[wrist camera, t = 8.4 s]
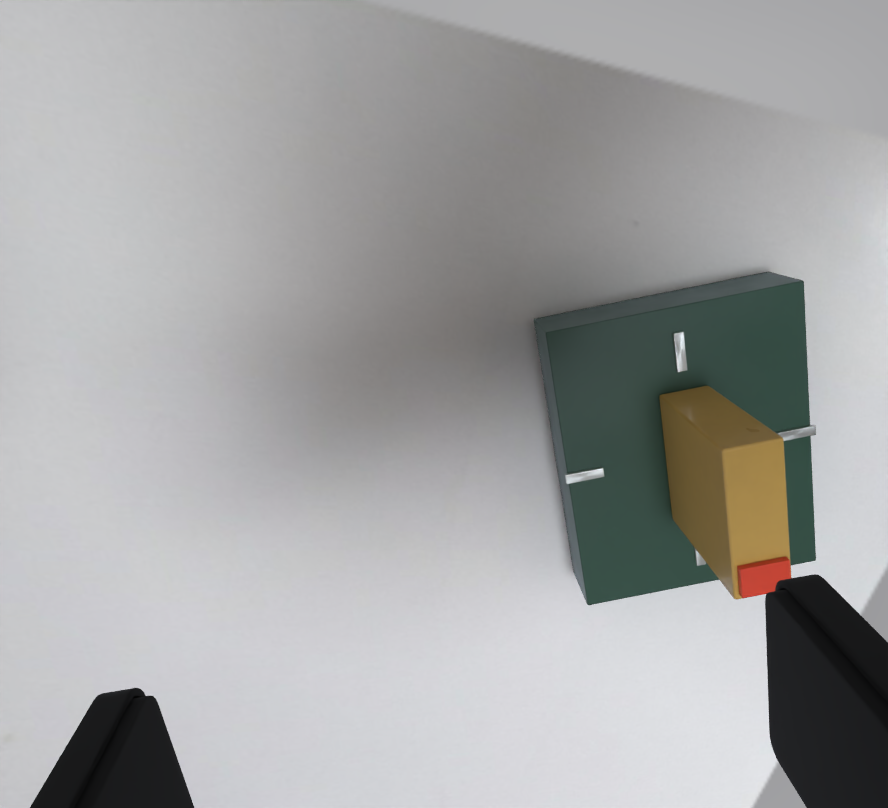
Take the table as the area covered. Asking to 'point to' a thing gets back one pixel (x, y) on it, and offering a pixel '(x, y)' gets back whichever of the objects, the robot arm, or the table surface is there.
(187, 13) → the table surface
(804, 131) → the table surface
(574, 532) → the green block
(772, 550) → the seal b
